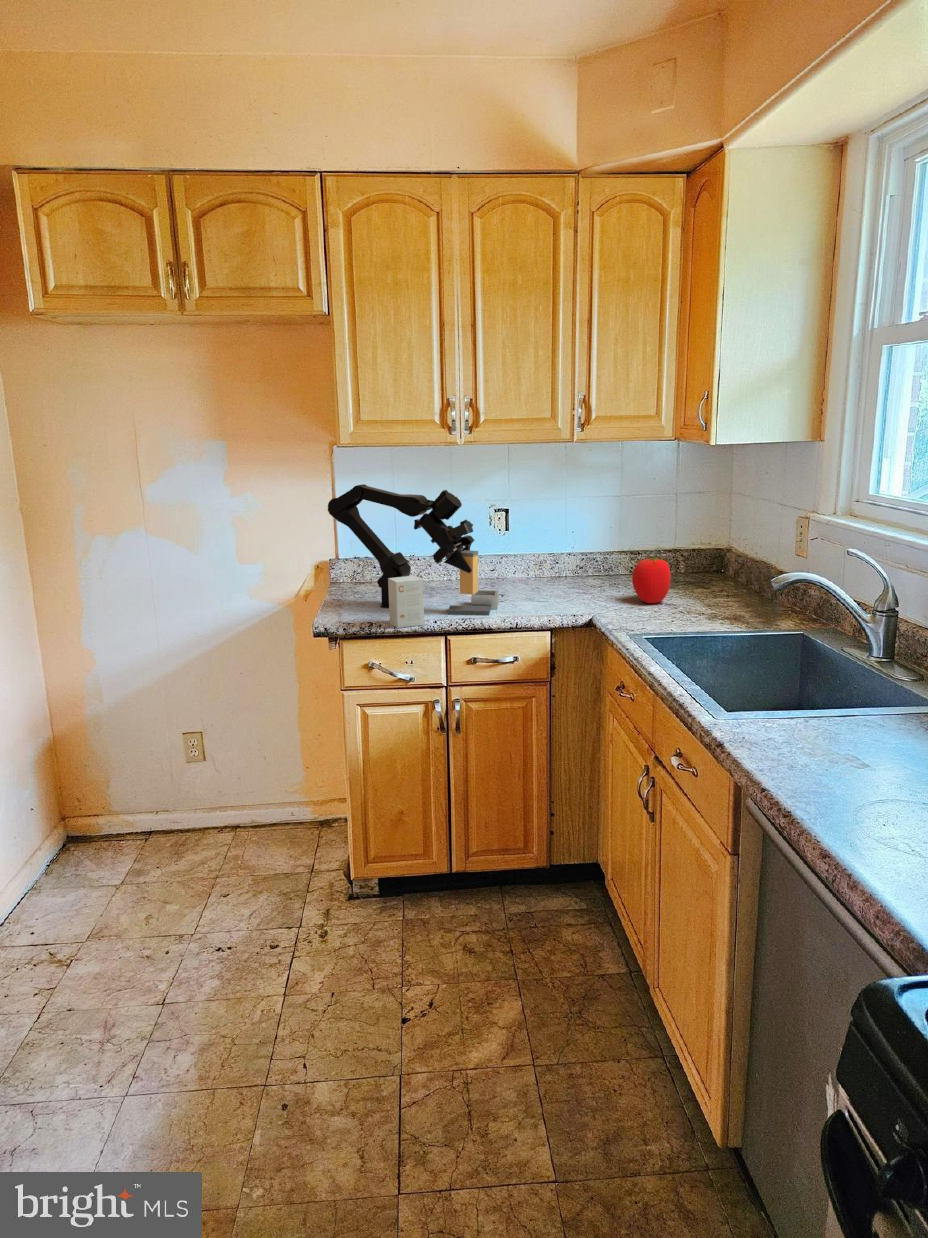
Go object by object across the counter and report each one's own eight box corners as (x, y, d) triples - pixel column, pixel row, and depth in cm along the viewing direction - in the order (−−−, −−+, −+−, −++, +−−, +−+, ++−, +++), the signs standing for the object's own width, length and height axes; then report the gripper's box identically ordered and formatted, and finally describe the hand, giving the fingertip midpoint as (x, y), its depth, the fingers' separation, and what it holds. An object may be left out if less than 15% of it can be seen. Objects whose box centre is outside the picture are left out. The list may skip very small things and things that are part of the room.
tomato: (663, 608, 248) (666, 561, 244) (626, 604, 253) (628, 558, 249) (674, 599, 259) (676, 554, 255) (638, 596, 264) (640, 551, 260)
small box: (416, 620, 236) (415, 574, 233) (424, 625, 231) (423, 579, 227) (389, 623, 233) (387, 577, 230) (396, 628, 227) (395, 581, 224)
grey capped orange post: (459, 593, 242) (459, 552, 239) (464, 590, 246) (464, 550, 243) (472, 594, 241) (473, 553, 238) (478, 591, 244) (478, 551, 241)
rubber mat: (447, 614, 242) (447, 610, 242) (450, 609, 248) (450, 605, 248) (489, 615, 241) (489, 611, 241) (490, 609, 247) (490, 606, 247)
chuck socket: (471, 608, 249) (471, 595, 248) (473, 602, 256) (473, 590, 255) (496, 609, 248) (496, 596, 247) (498, 603, 255) (498, 590, 254)
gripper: (443, 515, 230) (480, 557, 229) (468, 507, 247) (502, 547, 246) (417, 542, 235) (453, 583, 234) (443, 532, 252) (477, 571, 251)
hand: (473, 570), depth 241 cm, fingers closed on grey capped orange post, 4 cm apart
